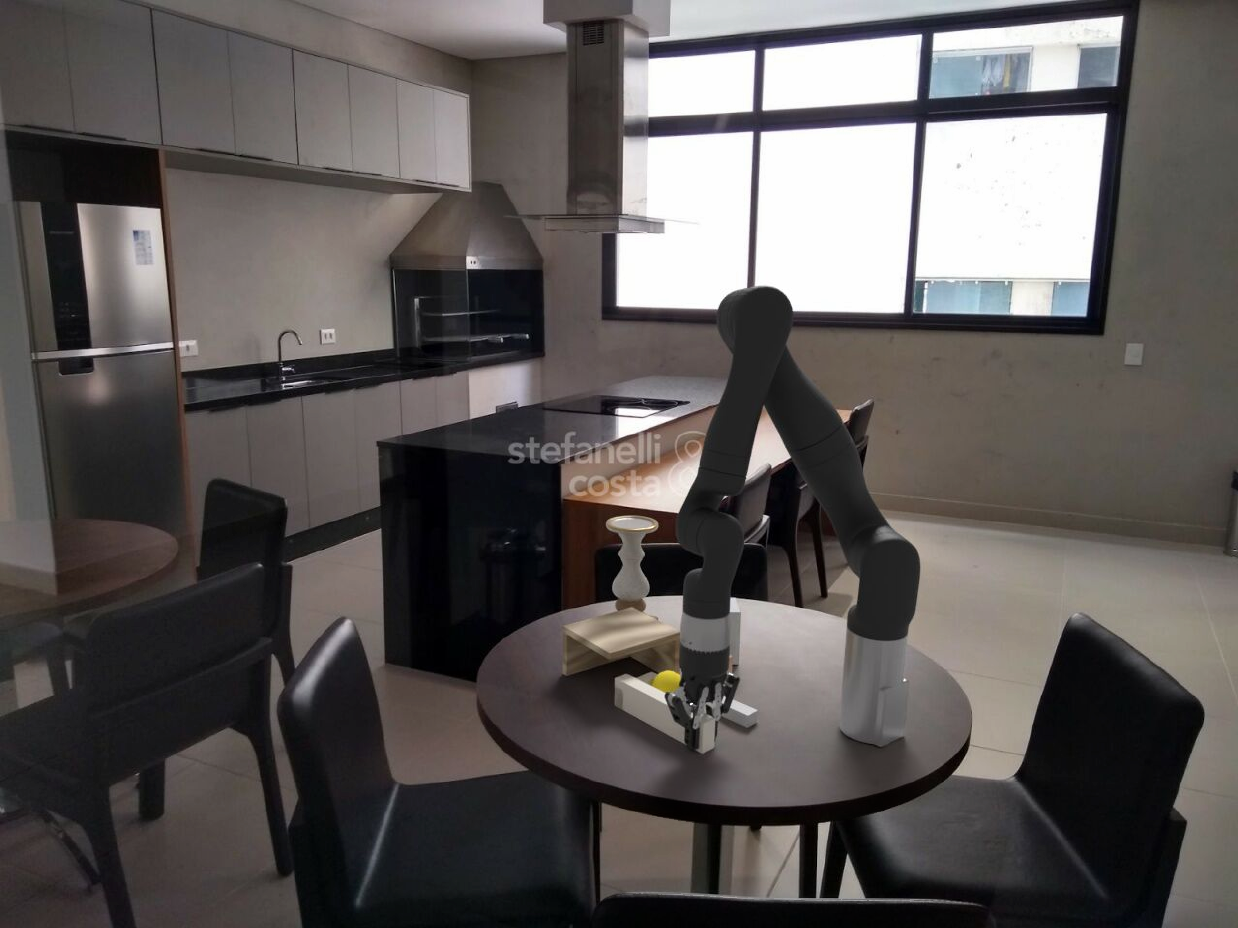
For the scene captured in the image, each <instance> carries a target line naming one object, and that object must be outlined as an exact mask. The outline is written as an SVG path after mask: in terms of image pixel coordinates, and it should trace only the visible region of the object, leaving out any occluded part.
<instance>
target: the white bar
mask: <svg viewBox="0 0 1238 928" xmlns="http://www.w3.org/2000/svg"><path fill="white" fill-rule="evenodd" d="M658 674H659V673H656V672H654V671H650V672H647V673H644V674H642V675H640V676H638V677H634V676H632V675H630V674H628V673H624V674H622V675H619V676H617V677H615V678H614V706H615V707H616V708H618V709H620V710H621V711H624V712H626V713H627V714H630V716H633V717H635V718H637V719H638V720H640V721H642V722H644V723H645V724H647V725H649V726H651V727H652V728H654V729H657V730H658V731H660V732H661V733H664V734H665V735H667V736H669V737H671V738H672V739H674V740H676V741H679V742H680V743H682V744H683V745H685V746H687V745H686V744H685V742H684V733H685V728H684V727H682V726H681V725H679V724H678V723H676V722H675V721H674V719H673V717H672V714H671V712H670V709H669V707H668V705H667V702H666V700H665V694H666V693H664V692H662V691H660V690H658V689H656V688H654V687H652V686H651V685H652V682H653V680H654V678H655V677H656V676H657V675H658ZM692 717H693V713H692V714H691V718H692ZM699 728H700V729H699V748H698V749H696V750H695V751H696V752H697V753H700V754H702V755H703V754H705V753H707V752H709V751H711V750H713V749H715V742H714V737H715V718H714V717H712V716H710V715H708V714H706V713H703V714H701V717H700V723H699Z"/></svg>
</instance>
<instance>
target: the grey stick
mask: <svg viewBox="0 0 1238 928" xmlns="http://www.w3.org/2000/svg"><path fill="white" fill-rule="evenodd" d="M683 699H684V697H683ZM725 699H726V697H725V696H724V697H723V700H722V703H723V704H724V701H725ZM758 713H759V711H758V709H756V708H753V707H751V706H749V705H747V704H744V703H742V702H739V701H738V700H736V699H733V701H732V704H731V706H730V709H729V712H728V713H727V714H724V713H723V714H722V715H721V717H723V718H725V719H726V720H729V721H731V722H733V723H735V724H738V725H740V726H742V727H745V728H747V729H748V728H750V727H751V726H753V725H756V724H757V723H758Z"/></svg>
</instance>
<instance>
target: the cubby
mask: <svg viewBox="0 0 1238 928" xmlns="http://www.w3.org/2000/svg"><path fill="white" fill-rule="evenodd" d="M644 613H645V612H644ZM644 613H642V612H640V611H638V610H636V609H634V608H632V607H631V608H628V609H624V610H620V611H617V610H616V612H615V611H613V612H609V613H605V614H602V615H598V616H595V617H590V618H587V619H583V620H580V621H576V622H573V623H569V624H565V625H562V674H563V675H564V676H566V677H568V676H571V675H574V674H577V673H580V672H584V671H587V670H590V669H593V668H597V667H600V666H603V665H606V664H610V663H613V662H616V661H619V660H623V659H625V658H629V657H630V658H632V659H634V660H635V661H637V662H639V663H641V664H643V665H644V666H647V668H650V669H652V670H653V671H655V673H656V672H657V674H659V673H660V672H663V671H667V670H668V671H674V672H675V673H677V674H679V675H680V676H681V669H680V666H679V649H680V630H678V629H676V628H674V627H672V626H670V625H668V624H666V623H664V622H662V621H660V620H659V619H658V620H656V619H654V618H652V617H650V616H648V615H649V614H647V613H646V614H647V615H646V614H644Z"/></svg>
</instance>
